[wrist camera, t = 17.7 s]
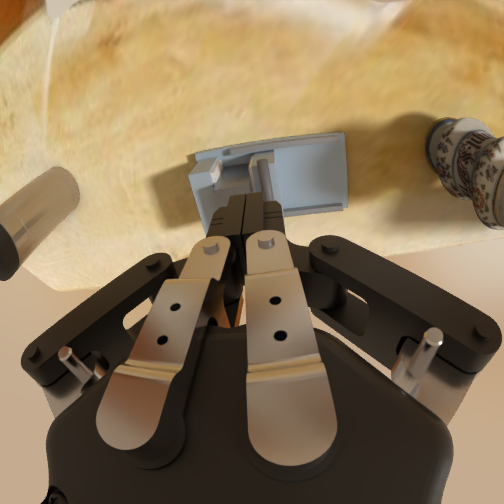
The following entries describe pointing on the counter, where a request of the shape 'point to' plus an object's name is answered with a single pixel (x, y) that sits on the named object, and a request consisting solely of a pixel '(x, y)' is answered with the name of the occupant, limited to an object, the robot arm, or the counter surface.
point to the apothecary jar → (469, 165)
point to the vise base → (282, 173)
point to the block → (232, 183)
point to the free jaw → (265, 175)
